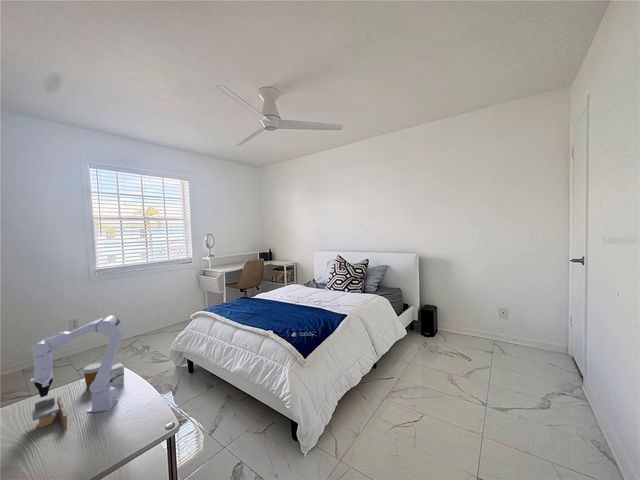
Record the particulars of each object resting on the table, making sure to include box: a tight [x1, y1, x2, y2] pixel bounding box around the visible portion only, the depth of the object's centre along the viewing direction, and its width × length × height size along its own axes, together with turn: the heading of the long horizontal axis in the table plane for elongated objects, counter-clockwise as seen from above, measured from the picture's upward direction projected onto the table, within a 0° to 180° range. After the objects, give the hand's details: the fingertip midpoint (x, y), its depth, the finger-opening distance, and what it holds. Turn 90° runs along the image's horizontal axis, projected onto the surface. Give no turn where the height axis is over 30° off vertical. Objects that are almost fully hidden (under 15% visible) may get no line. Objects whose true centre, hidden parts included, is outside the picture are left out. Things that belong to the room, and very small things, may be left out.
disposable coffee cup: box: [82, 361, 102, 391], centre depth 143 cm, size 10×10×12 cm
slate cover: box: [31, 396, 59, 421], centre depth 116 cm, size 8×8×4 cm
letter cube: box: [38, 413, 54, 428], centre depth 116 cm, size 4×4×4 cm
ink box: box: [109, 362, 125, 389], centre depth 143 cm, size 9×5×12 cm, turn 143°
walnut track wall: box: [56, 395, 68, 431], centre depth 119 cm, size 20×1×6 cm, turn 51°
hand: (43, 395), depth 119 cm, fingers closed
